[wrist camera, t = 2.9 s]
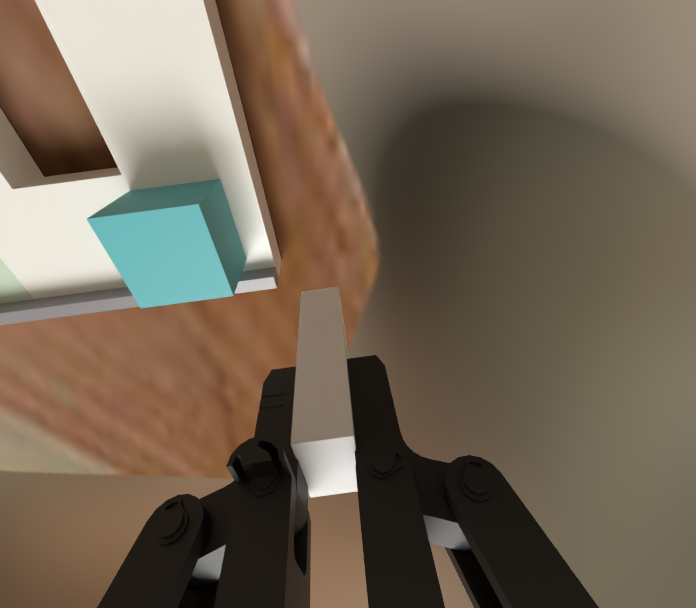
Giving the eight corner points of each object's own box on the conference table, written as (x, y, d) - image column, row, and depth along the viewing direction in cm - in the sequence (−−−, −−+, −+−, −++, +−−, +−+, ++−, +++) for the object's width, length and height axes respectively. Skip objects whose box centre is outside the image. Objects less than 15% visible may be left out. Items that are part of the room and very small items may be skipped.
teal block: (129, 190, 21) (86, 218, 17) (220, 178, 21) (198, 203, 17) (169, 269, 25) (140, 308, 21) (246, 259, 25) (233, 295, 21)
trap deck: (-302, 37, 18) (-486, 27, 14) (208, -28, 18) (177, -56, 14) (-37, 302, 28) (-96, 341, 24) (281, 260, 28) (276, 291, 24)
